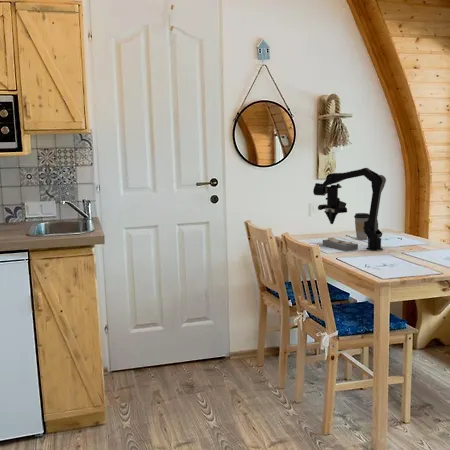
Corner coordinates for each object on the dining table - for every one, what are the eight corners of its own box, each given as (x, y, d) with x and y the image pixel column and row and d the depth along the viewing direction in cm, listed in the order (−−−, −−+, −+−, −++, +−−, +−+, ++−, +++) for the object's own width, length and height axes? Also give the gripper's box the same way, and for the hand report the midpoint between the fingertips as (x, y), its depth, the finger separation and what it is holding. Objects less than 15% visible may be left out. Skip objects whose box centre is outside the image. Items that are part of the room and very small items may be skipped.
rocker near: (352, 243, 279) (352, 241, 279) (347, 244, 277) (346, 242, 277) (344, 244, 285) (344, 242, 285) (339, 244, 283) (339, 242, 283)
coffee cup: (366, 240, 304) (366, 215, 302) (350, 239, 310) (351, 214, 308) (372, 238, 312) (372, 213, 309) (357, 236, 317) (357, 212, 315)
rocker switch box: (357, 249, 279) (357, 243, 278) (346, 251, 275) (346, 245, 275) (333, 243, 296) (333, 238, 296) (322, 245, 293) (322, 239, 292)
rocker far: (340, 243, 288) (340, 241, 288) (334, 243, 286) (335, 241, 286) (332, 239, 293) (333, 237, 293) (327, 239, 292) (327, 237, 291)
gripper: (355, 196, 283) (354, 225, 285) (333, 193, 299) (332, 220, 302) (339, 197, 278) (338, 226, 280) (317, 195, 294) (317, 222, 297)
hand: (331, 224), depth 290 cm, fingers closed
